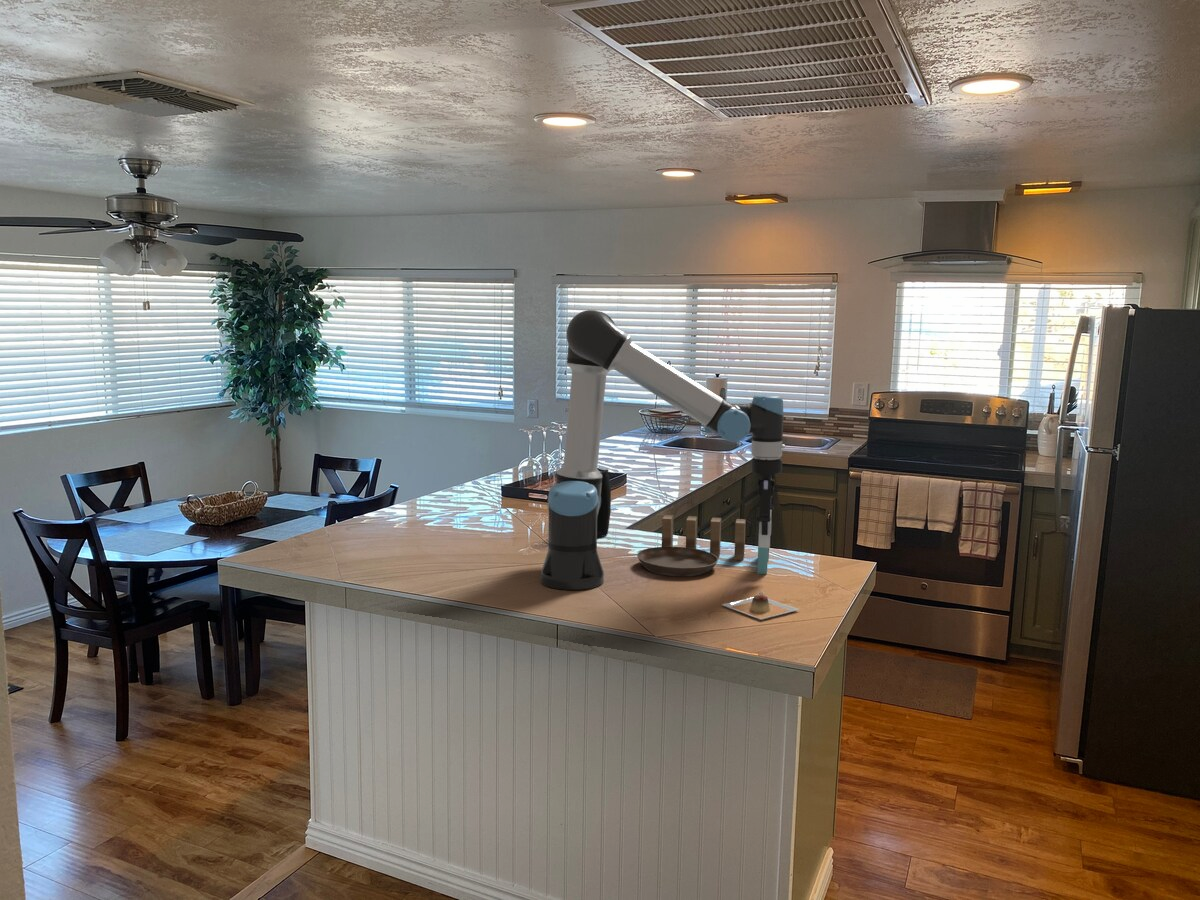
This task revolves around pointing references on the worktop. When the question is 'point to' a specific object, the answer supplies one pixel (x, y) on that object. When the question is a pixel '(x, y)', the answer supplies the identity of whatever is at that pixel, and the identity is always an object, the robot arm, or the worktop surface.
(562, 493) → the robot arm
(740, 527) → the domino
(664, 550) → the plant saucer
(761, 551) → the domino
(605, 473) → the portable speaker
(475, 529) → the worktop surface
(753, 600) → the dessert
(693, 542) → the domino
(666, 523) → the domino
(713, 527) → the domino
